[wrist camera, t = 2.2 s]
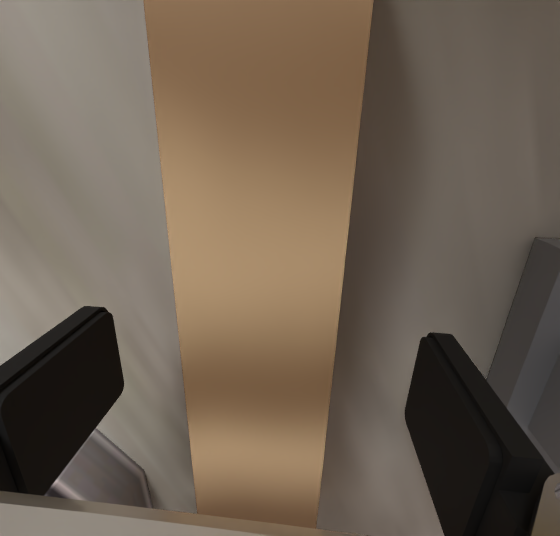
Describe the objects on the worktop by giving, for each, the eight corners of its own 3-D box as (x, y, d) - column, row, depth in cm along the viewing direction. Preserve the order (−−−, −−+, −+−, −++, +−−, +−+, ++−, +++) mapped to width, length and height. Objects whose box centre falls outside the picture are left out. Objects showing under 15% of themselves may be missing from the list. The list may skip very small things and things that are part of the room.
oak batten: (211, -105, 9) (104, -368, 4) (358, -109, 9) (416, -392, 4) (233, 487, 18) (207, 609, 13) (306, 494, 18) (305, 621, 13)
